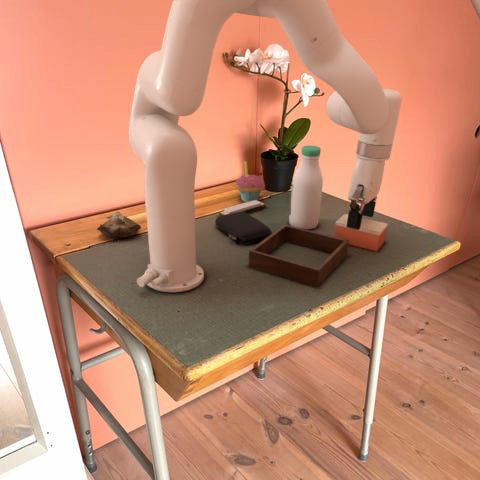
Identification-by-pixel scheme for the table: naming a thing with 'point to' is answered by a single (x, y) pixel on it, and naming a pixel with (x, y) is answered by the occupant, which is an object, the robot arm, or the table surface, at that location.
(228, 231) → the carrying case
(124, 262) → the table surface
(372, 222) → the lunchbox
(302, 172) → the milk bottle
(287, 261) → the wooden box
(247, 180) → the cupcake
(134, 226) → the fossilized seashell
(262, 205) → the harmonica
